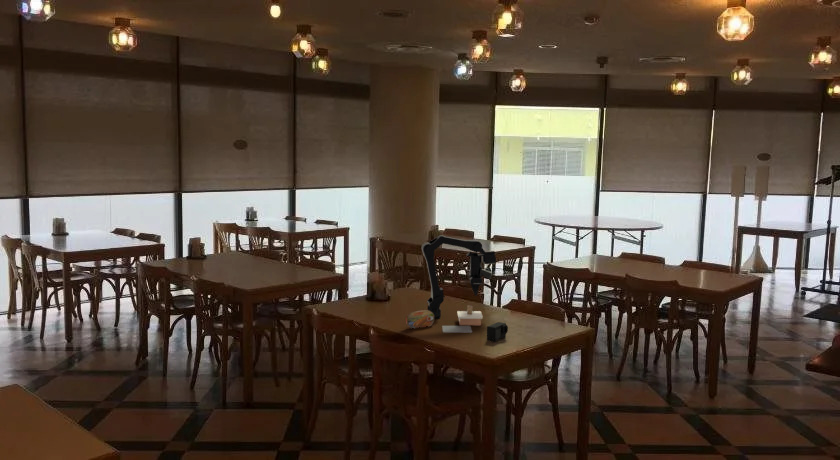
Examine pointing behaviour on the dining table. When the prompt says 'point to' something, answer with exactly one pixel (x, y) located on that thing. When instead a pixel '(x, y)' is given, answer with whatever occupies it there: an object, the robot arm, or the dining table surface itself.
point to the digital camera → (496, 331)
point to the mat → (457, 329)
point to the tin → (420, 319)
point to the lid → (469, 314)
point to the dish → (470, 322)
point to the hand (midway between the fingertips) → (475, 293)
